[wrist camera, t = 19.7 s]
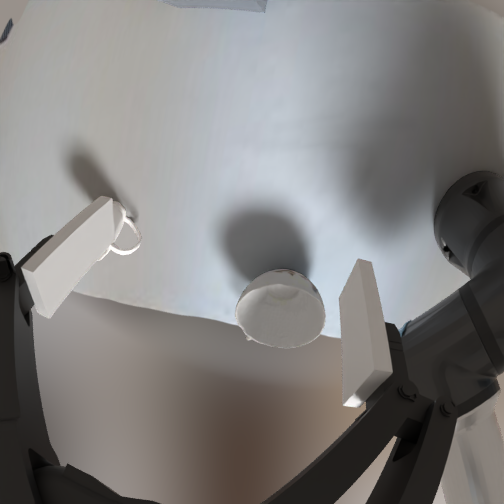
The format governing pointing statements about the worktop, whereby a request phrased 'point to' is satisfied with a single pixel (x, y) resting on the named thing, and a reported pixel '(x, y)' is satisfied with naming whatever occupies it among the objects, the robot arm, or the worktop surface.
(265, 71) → the worktop surface
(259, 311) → the teacup
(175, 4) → the matte grey cuboid
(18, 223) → the worktop surface
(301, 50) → the worktop surface
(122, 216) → the cup
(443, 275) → the worktop surface
